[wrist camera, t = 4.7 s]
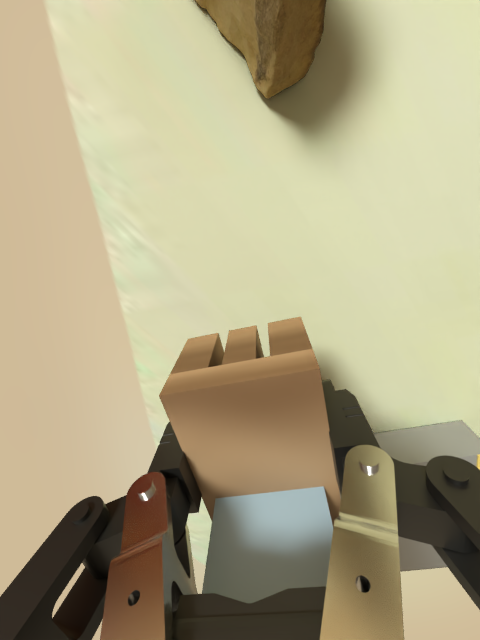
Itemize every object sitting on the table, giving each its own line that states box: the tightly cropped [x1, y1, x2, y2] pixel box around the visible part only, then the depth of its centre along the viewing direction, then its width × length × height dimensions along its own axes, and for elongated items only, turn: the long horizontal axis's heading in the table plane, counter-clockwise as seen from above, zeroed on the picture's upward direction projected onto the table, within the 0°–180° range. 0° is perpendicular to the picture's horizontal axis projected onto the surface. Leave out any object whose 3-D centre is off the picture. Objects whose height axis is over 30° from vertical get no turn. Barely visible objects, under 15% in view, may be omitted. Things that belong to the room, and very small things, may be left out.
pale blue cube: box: [202, 486, 333, 603], centre depth 9 cm, size 4×4×4 cm
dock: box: [339, 420, 480, 571], centre depth 20 cm, size 16×12×9 cm
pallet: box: [159, 317, 341, 528], centre depth 13 cm, size 12×5×4 cm, turn 14°
